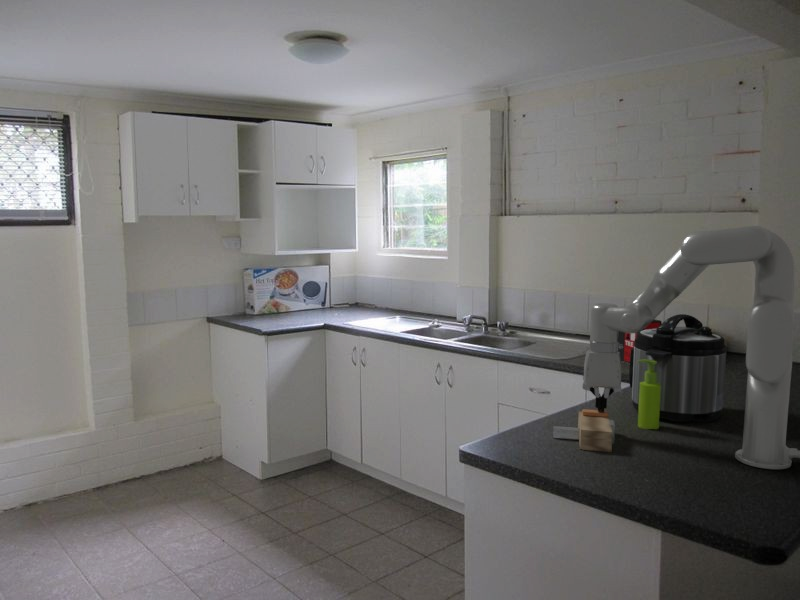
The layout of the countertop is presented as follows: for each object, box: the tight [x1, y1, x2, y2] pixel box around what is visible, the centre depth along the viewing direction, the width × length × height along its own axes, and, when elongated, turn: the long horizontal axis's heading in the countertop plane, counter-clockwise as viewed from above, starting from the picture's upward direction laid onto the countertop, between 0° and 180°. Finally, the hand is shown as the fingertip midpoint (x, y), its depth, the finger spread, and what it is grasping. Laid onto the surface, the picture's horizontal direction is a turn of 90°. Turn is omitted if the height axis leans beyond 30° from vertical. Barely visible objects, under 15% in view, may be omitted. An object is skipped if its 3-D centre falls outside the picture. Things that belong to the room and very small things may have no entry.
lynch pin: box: [552, 419, 616, 445], centre depth 186 cm, size 16×5×5 cm, turn 77°
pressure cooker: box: [628, 313, 727, 423], centre depth 212 cm, size 30×28×32 cm
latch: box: [581, 408, 609, 418], centre depth 191 cm, size 7×3×1 cm, turn 77°
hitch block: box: [577, 411, 613, 453], centre depth 186 cm, size 8×18×5 cm, turn 167°
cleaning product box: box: [617, 318, 663, 363], centre depth 285 cm, size 16×9×20 cm, turn 17°
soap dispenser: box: [637, 359, 661, 430], centre depth 198 cm, size 6×7×20 cm
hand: (600, 410), depth 190 cm, fingers closed
